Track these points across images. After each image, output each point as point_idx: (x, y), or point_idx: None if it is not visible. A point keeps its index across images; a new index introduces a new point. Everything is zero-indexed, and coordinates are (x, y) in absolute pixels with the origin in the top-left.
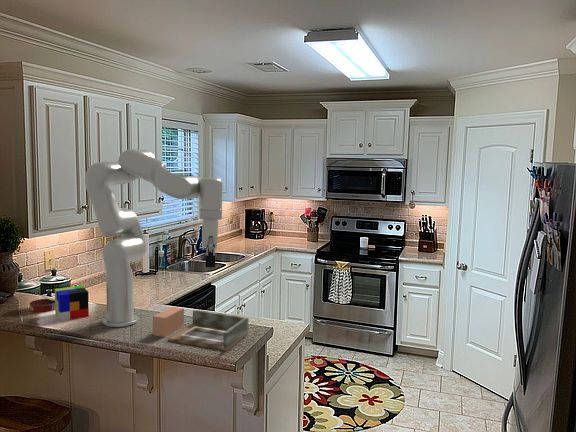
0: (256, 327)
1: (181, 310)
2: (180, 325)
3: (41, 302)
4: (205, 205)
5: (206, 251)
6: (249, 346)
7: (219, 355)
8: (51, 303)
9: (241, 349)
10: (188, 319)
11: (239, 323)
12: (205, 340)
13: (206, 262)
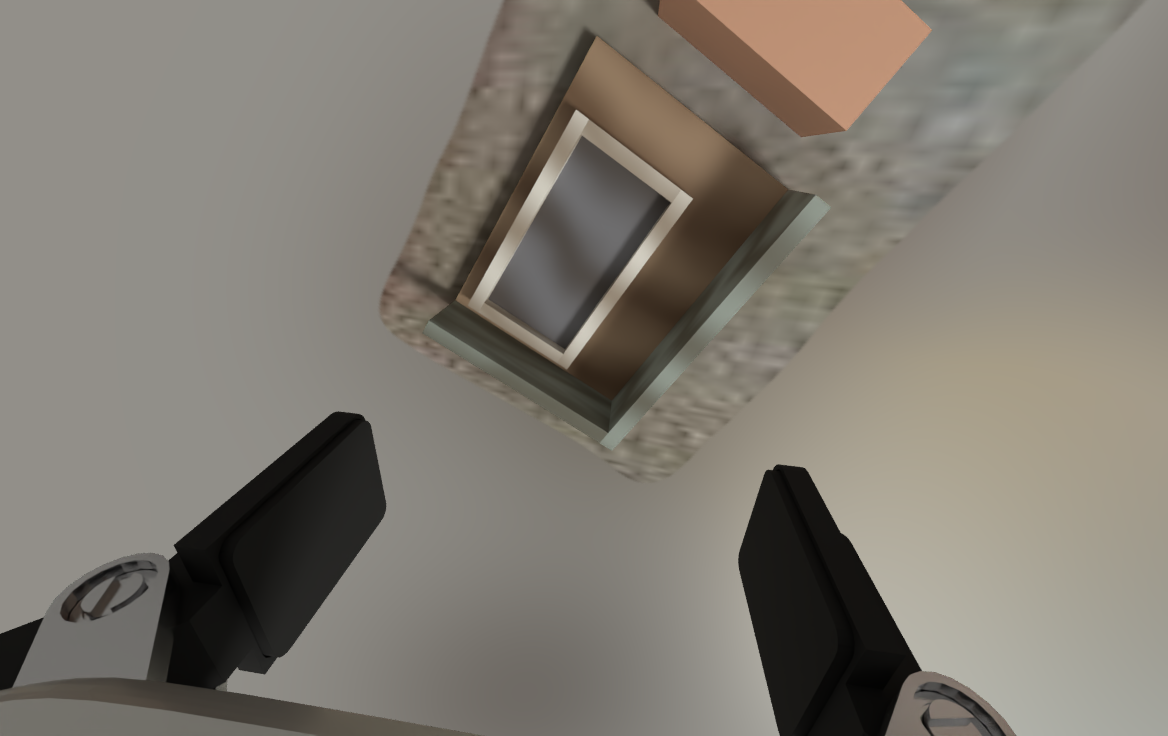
0: (676, 450)
1: (820, 111)
2: (781, 113)
3: None
4: None
5: (96, 651)
6: (492, 389)
7: (415, 276)
8: None
9: None
10: (910, 169)
11: (539, 402)
12: (507, 235)
13: (290, 461)
